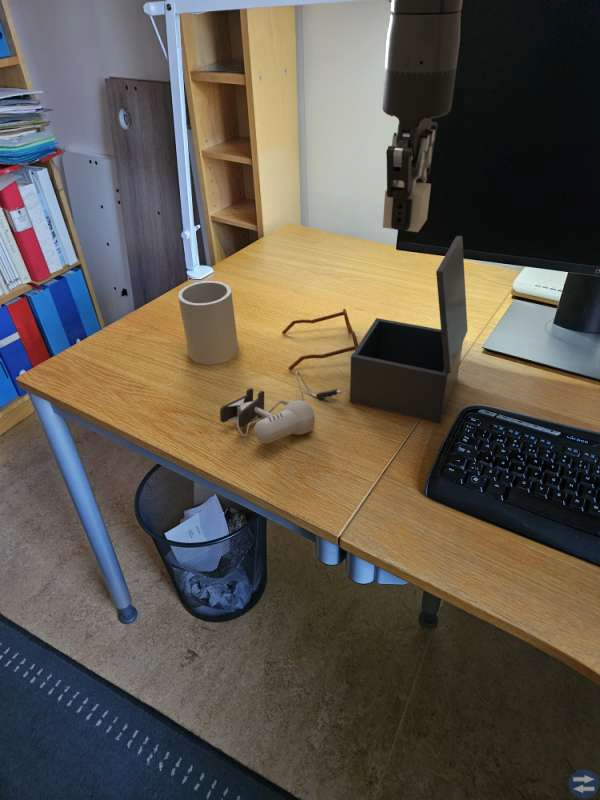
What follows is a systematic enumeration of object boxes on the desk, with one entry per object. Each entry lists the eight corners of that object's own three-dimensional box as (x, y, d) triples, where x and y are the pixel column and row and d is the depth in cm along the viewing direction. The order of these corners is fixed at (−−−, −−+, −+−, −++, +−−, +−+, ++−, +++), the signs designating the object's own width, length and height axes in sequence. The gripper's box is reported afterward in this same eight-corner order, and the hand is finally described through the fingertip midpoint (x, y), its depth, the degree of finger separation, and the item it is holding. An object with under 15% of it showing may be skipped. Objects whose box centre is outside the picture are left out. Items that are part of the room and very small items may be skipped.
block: (426, 219, 71) (431, 183, 68) (418, 232, 68) (422, 195, 65) (392, 215, 72) (395, 179, 69) (382, 227, 69) (384, 190, 66)
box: (349, 402, 90) (350, 356, 85) (374, 361, 99) (376, 317, 94) (440, 423, 85) (447, 376, 80) (457, 378, 94) (464, 333, 89)
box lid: (435, 271, 71) (442, 271, 71) (456, 236, 80) (462, 235, 80) (444, 373, 79) (450, 373, 79) (462, 330, 88) (467, 330, 88)
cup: (246, 354, 102) (239, 295, 95) (200, 370, 99) (190, 310, 91) (225, 333, 109) (217, 276, 101) (181, 347, 105) (170, 289, 98)
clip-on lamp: (297, 396, 96) (215, 428, 84) (299, 362, 94) (214, 389, 82) (350, 419, 89) (268, 457, 77) (354, 383, 87) (269, 416, 74)
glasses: (361, 364, 98) (362, 339, 95) (288, 371, 97) (287, 347, 94) (347, 327, 109) (348, 304, 106) (281, 333, 108) (279, 310, 105)
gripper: (441, 75, 53) (421, 247, 63) (468, 55, 63) (447, 206, 74) (365, 72, 55) (358, 238, 66) (403, 53, 66) (392, 200, 76)
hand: (405, 221), depth 70 cm, fingers closed on block, 4 cm apart
